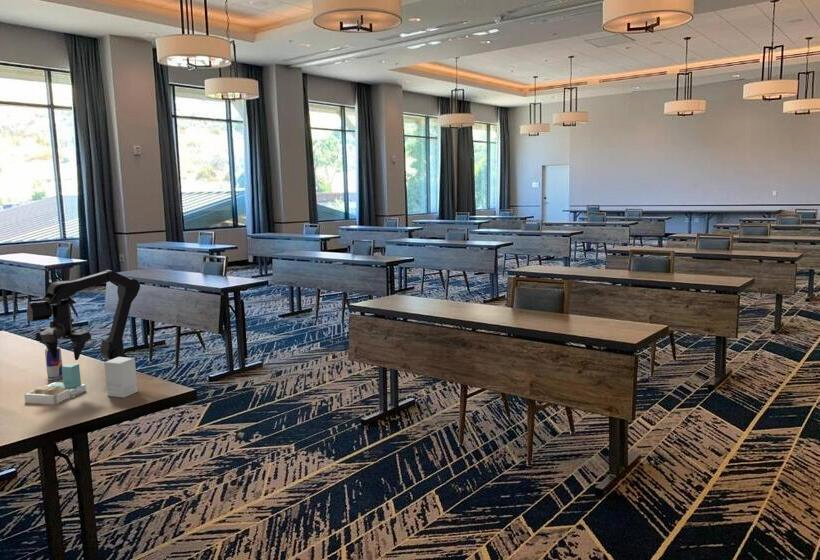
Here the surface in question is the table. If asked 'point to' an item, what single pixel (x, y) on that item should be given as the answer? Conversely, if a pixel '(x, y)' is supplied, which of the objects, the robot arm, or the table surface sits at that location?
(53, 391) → the beige cube
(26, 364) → the table surface
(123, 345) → the robot arm
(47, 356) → the energy drink
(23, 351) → the table surface
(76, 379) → the teal boot-shaped block
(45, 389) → the tan cube
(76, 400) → the table surface
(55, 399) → the tray
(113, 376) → the supplement box
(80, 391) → the slot rails
